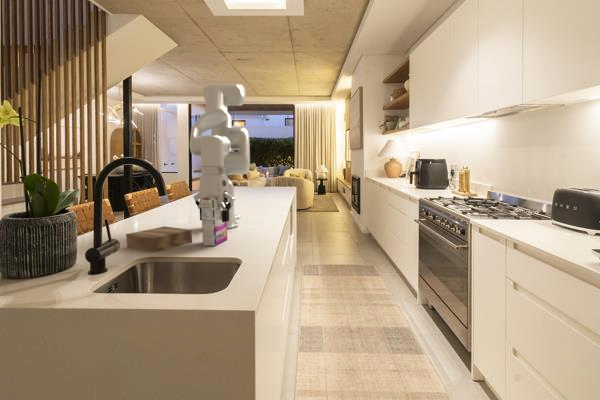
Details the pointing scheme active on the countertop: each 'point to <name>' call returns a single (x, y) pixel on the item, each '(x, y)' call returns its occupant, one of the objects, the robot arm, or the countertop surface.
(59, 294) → the countertop surface
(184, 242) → the walnut block
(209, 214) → the candy bar box
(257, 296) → the countertop surface
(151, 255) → the countertop surface
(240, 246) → the countertop surface
